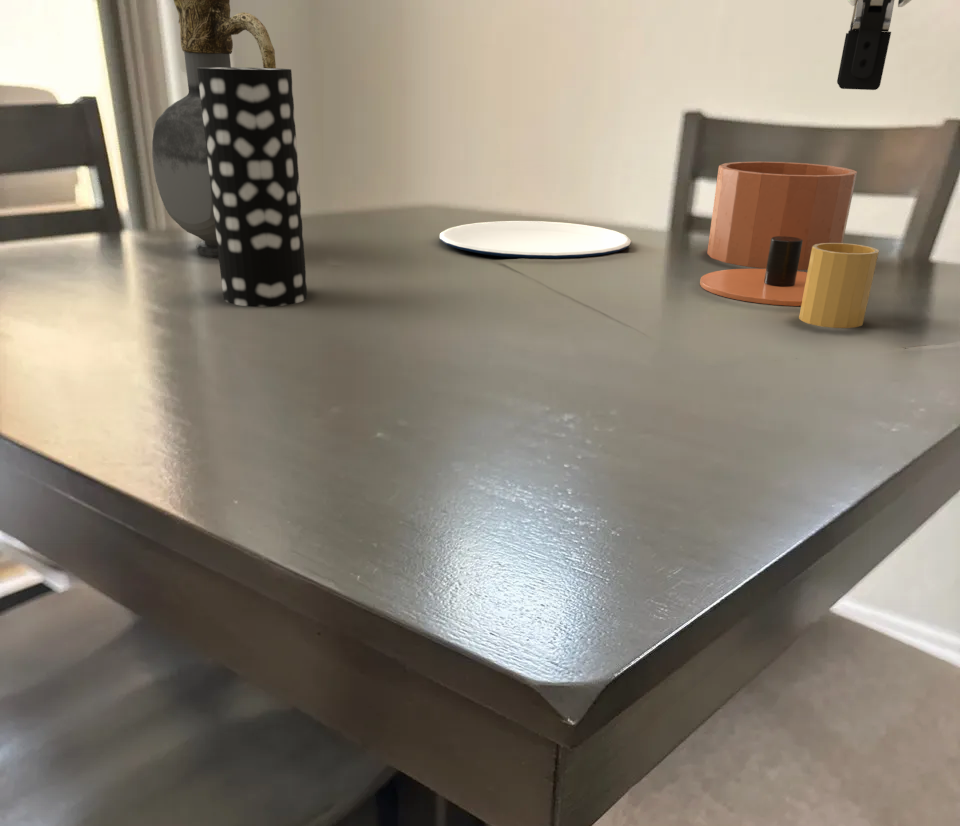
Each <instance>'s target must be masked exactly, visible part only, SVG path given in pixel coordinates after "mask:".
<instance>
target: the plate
mask: <svg viewBox="0 0 960 826" xmlns="http://www.w3.org/2000/svg"><path fill="white" fill-rule="evenodd" d="M439 241H441V242H442V243H444V244H445V245H446V246H448V247H450V248H451V247H452V248H455V249H458V250H462V251H466V252H470V253H474V254H479V255H485V256H490V257H497V258H507V259H518V260H519V259H521V260H523V259H576V258H577V259H578V258H588V257H598V256H603V255H609V254H614V253H619V252H620V251H623V250H626V249H628V248H629V247H630V245H631V244H632V240H631V239H630V237H629V236H628V235H626V234H625V233H624V234H623V233H622V232H618V231H617V230H613V229H609V228H604V227H602V226H601V227H600V226H593V225H588V224H580V223H570V222H559V221H541V220H540V221H539V220H501V221H500V220H499V221H498V220H497V221H486V222H485V221H484V222H483V221H482V222H475V223H467V224H460V225H457V226H452V227H449V228H446V229H445V230H443V231H441V232H440V233H439Z"/></svg>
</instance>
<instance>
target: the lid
mask: <svg viewBox="0 0 960 826" xmlns="http://www.w3.org/2000/svg"><path fill="white" fill-rule="evenodd" d="M802 242H803V240H802V239H800V238H796V237H787V236H777V237H772V238H771V243H770V249H769V255H768V261H767V267H766V268H733V269H730V268H729V269H722V270H715V271H711V272H708V273H706V274H704V275H702V276H701V277H700V280H699V285H700V287H701V288H702V289H703V290H705V291H707V292H709V293H711V294H714V295H717V296H719V297H720V296H721V297H723V298H728V299H731V300H737V301H743V302H748V303H756V304H763V305H772V306H786V307H787V306H790V307H801V304H802V299H803V293H804V288H805V283H806V277H807V272H808V271H802V270H798V264H799V259H800V253H801V248H802Z"/></svg>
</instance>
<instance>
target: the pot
mask: <svg viewBox="0 0 960 826" xmlns="http://www.w3.org/2000/svg"><path fill="white" fill-rule="evenodd" d="M857 175H858V171H856V170H854V169H851V168H848V167H841V166H835V165H826V164H817V163H805V162H804V163H803V162H790V161H789V162H788V161H734V162H725V163H722V164H720V165H718V170H717V177H716V186H715V191H714V199H713V207H712V213H711V214H712V215H711V222H710V228H709V229H710V230H709V238H708V246H707V251H706V252H707V253H706V254H707V255H708V256H709V257H710V258H711V259H712V260H716V261H720V262H722V263H726V264H730V265H737V266H741V267H747V268H755V269H766V267H767V261H768V255H769V249H770V243H771V238H772V237H777V236H787V237H796V238H800V239H802V240H803V242H802V248H801V253H800V259H799V264H798V270H797V271H808V266H809V261H810V256H811V250H812V246H813V245H815V244H820V243H844V239H845V236H846V235H845V234H846V231H847V224H848V220H849V214H850V209H851V204H852V200H853V196H854V195H853V194H854V189H855V185H856V181H857Z"/></svg>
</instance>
